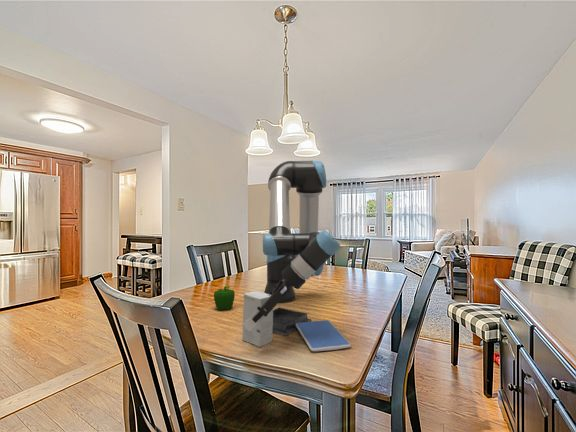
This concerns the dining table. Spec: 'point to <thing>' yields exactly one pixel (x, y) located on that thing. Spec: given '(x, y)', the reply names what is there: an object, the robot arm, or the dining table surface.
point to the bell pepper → (224, 298)
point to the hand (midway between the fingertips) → (250, 319)
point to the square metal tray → (287, 320)
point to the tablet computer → (322, 336)
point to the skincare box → (264, 327)
